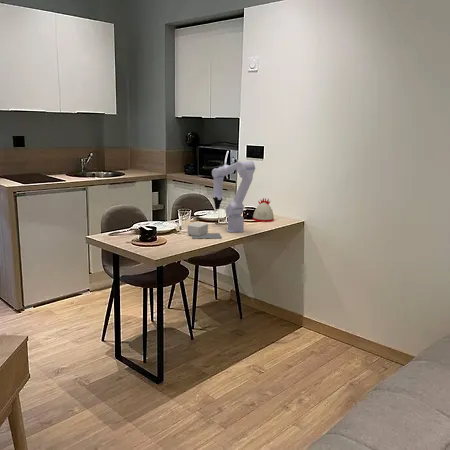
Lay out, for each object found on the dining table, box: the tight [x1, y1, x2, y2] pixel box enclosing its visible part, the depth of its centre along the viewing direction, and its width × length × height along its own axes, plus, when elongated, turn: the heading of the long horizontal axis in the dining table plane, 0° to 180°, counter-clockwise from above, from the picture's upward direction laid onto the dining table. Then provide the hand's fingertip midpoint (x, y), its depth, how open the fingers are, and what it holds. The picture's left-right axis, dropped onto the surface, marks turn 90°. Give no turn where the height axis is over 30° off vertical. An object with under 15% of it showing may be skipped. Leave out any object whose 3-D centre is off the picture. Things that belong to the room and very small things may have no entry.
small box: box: [187, 221, 209, 236], centre depth 277 cm, size 8×6×10 cm
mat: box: [190, 232, 223, 240], centre depth 274 cm, size 17×10×1 cm, turn 100°
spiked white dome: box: [252, 197, 275, 223], centre depth 318 cm, size 14×14×15 cm
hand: (217, 209), depth 298 cm, fingers closed
